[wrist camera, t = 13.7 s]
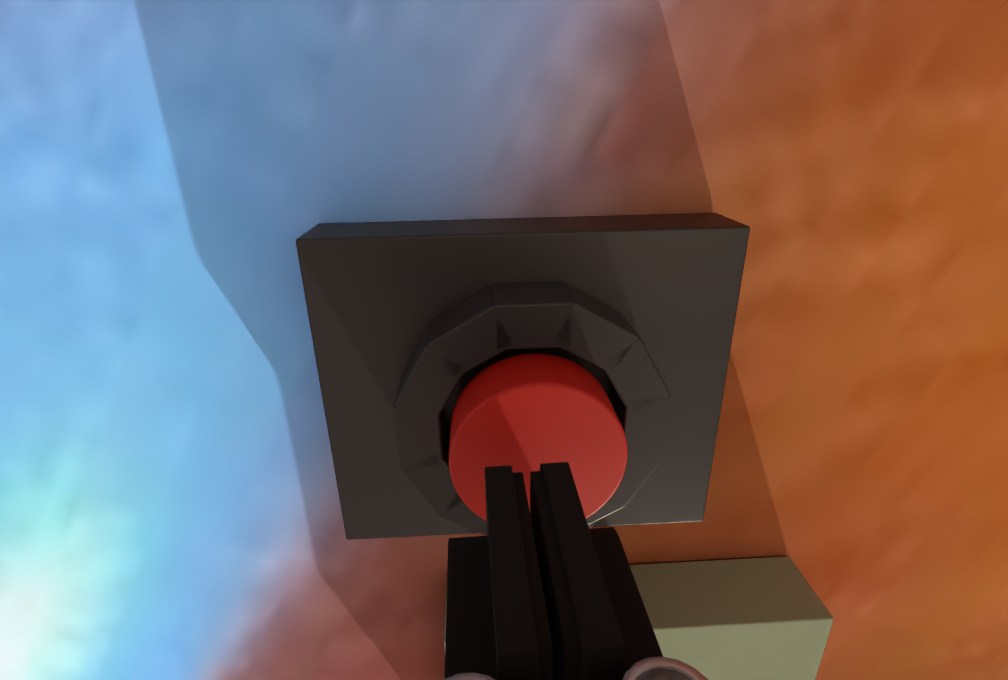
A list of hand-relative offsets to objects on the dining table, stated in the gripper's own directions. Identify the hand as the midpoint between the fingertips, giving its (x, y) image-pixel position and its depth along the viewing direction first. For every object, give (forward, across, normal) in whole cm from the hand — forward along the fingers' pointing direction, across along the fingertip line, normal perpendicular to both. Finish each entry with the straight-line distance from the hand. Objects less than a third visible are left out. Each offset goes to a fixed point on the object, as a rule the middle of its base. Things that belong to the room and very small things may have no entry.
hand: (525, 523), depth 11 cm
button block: (+8, -1, 0) cm, 8 cm away
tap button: (+4, -1, 0) cm, 4 cm away
